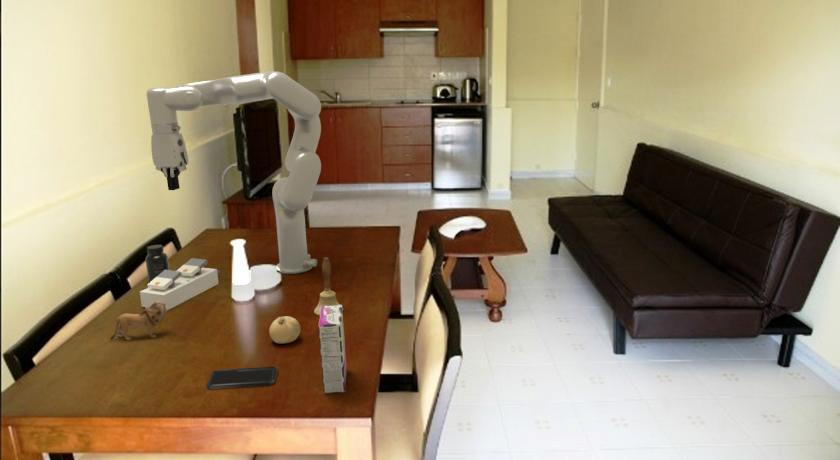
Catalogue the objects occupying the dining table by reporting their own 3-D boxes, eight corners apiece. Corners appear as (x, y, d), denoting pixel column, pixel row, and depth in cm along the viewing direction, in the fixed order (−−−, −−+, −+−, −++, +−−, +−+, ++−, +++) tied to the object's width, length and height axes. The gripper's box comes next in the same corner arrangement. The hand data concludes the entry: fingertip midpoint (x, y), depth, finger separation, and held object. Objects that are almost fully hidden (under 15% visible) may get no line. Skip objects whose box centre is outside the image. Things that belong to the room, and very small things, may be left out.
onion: (267, 337, 172) (265, 312, 170) (297, 332, 174) (295, 307, 172) (273, 349, 164) (270, 323, 162) (304, 343, 167) (302, 318, 165)
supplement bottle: (174, 278, 219) (170, 243, 215) (164, 285, 212) (160, 249, 209) (155, 277, 219) (150, 243, 216) (144, 284, 213) (139, 249, 210)
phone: (273, 382, 146) (205, 386, 145) (274, 387, 147) (206, 391, 146) (278, 366, 154) (213, 369, 153) (278, 370, 154) (213, 374, 153)
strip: (230, 277, 217) (228, 261, 216) (166, 311, 190) (163, 292, 189) (208, 275, 221) (206, 258, 219) (142, 307, 194) (139, 289, 192)
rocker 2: (208, 264, 209) (206, 259, 208) (192, 278, 202) (190, 272, 201) (193, 262, 211) (191, 257, 210) (177, 276, 204) (175, 270, 204)
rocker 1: (182, 276, 198) (180, 271, 197) (165, 291, 192) (163, 286, 191) (166, 274, 200) (164, 269, 199) (149, 289, 194) (147, 283, 193)
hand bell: (326, 303, 193) (322, 252, 189) (348, 308, 189) (345, 256, 185) (308, 313, 186) (304, 260, 182) (331, 318, 182) (327, 264, 178)
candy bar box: (325, 370, 153) (320, 305, 148) (347, 369, 153) (343, 303, 149) (322, 394, 142) (317, 325, 138) (345, 393, 142) (341, 323, 138)
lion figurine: (169, 327, 179) (165, 297, 176) (169, 335, 174) (165, 303, 172) (110, 337, 174) (105, 305, 171) (109, 345, 169) (104, 313, 167)
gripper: (193, 128, 197) (202, 187, 202) (154, 127, 202) (163, 185, 207) (177, 131, 190) (185, 193, 195) (136, 131, 195) (146, 191, 200)
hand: (174, 189), depth 201 cm, fingers closed
